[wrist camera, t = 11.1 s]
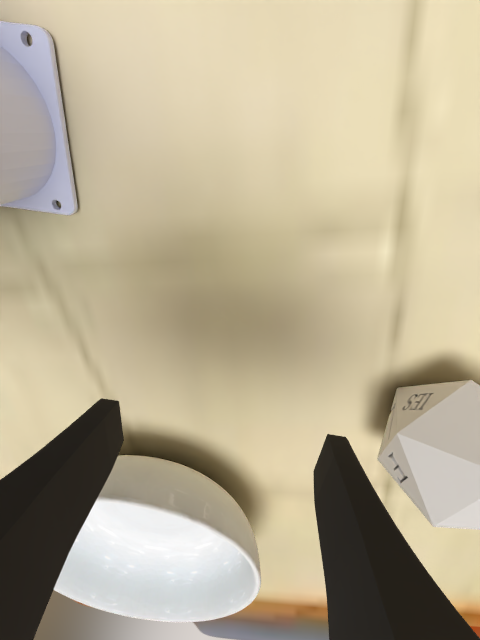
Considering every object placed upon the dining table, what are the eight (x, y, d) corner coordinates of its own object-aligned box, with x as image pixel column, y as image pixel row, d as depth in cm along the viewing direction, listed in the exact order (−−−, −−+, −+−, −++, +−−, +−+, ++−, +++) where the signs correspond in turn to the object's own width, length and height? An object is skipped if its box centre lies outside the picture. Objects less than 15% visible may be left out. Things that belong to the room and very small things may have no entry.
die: (429, 325, 20) (369, 457, 16) (606, 392, 17) (593, 590, 12) (395, 385, 27) (345, 492, 22) (517, 444, 23) (487, 586, 18)
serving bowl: (201, 564, 39) (187, 641, 33) (36, 497, 35) (-13, 571, 29) (308, 488, 29) (316, 578, 23) (96, 381, 25) (40, 458, 19)
